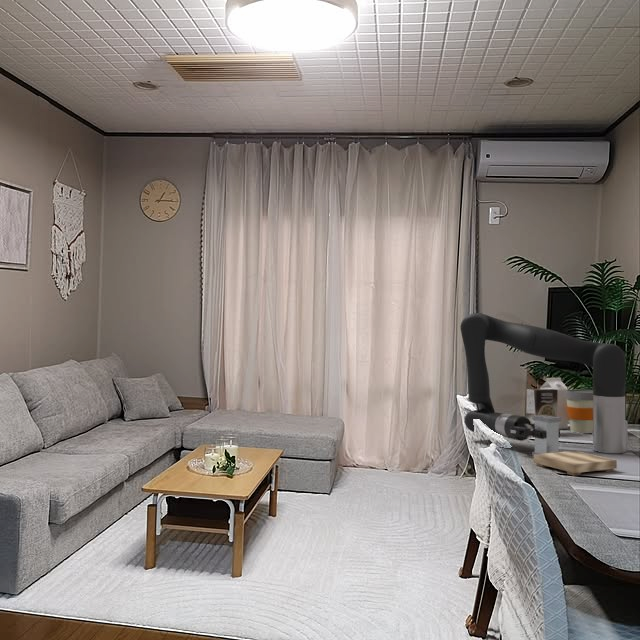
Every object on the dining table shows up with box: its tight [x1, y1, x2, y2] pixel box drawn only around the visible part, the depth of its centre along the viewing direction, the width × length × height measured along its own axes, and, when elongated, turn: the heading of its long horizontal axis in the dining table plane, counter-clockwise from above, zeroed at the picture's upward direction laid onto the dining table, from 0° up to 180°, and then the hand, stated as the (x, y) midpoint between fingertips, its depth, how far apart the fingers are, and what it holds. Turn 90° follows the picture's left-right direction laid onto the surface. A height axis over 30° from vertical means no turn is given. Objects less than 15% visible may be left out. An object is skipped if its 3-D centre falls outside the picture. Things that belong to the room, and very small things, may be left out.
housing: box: [531, 415, 561, 457], centre depth 202 cm, size 4×7×12 cm, turn 24°
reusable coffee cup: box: [566, 388, 593, 434], centre depth 251 cm, size 13×13×15 cm
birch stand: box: [533, 450, 618, 477], centre depth 187 cm, size 15×15×3 cm
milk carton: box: [539, 377, 569, 430], centre depth 261 cm, size 7×7×19 cm
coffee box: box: [525, 388, 558, 423], centre depth 247 cm, size 9×6×16 cm
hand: (551, 434), depth 201 cm, fingers open, 5 cm apart
